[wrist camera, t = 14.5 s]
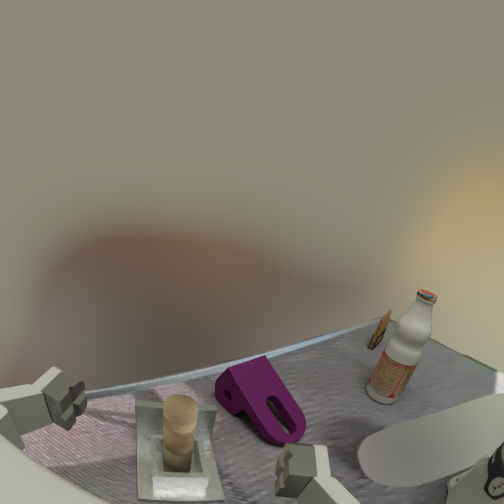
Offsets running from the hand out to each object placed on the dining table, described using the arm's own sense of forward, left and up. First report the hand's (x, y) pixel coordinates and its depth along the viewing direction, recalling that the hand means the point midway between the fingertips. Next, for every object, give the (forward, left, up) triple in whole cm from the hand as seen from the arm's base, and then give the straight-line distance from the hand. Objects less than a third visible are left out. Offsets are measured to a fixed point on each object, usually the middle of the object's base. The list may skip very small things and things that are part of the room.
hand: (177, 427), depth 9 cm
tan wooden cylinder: (-3, -16, -31) cm, 35 cm away
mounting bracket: (-20, -29, -32) cm, 47 cm away
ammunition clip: (-69, -54, -32) cm, 93 cm away
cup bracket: (-3, -16, -32) cm, 36 cm away
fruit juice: (-53, -30, -32) cm, 69 cm away
